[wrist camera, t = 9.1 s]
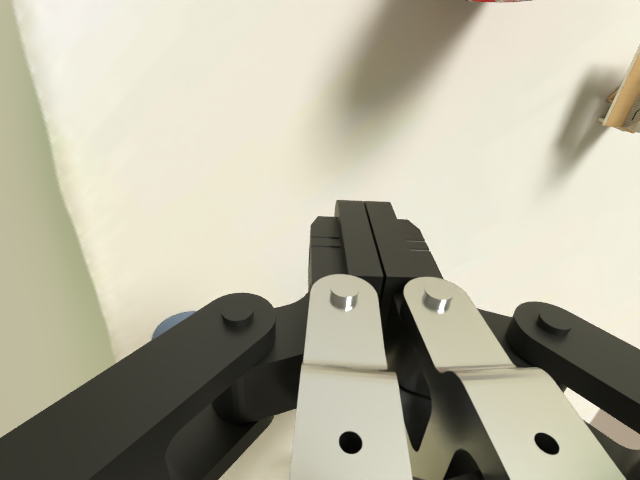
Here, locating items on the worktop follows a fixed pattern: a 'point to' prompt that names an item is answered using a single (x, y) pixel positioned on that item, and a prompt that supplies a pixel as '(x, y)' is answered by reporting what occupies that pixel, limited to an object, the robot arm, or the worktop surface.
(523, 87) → the worktop surface
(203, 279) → the worktop surface
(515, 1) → the soda can
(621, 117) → the architectural model
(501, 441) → the robot arm
